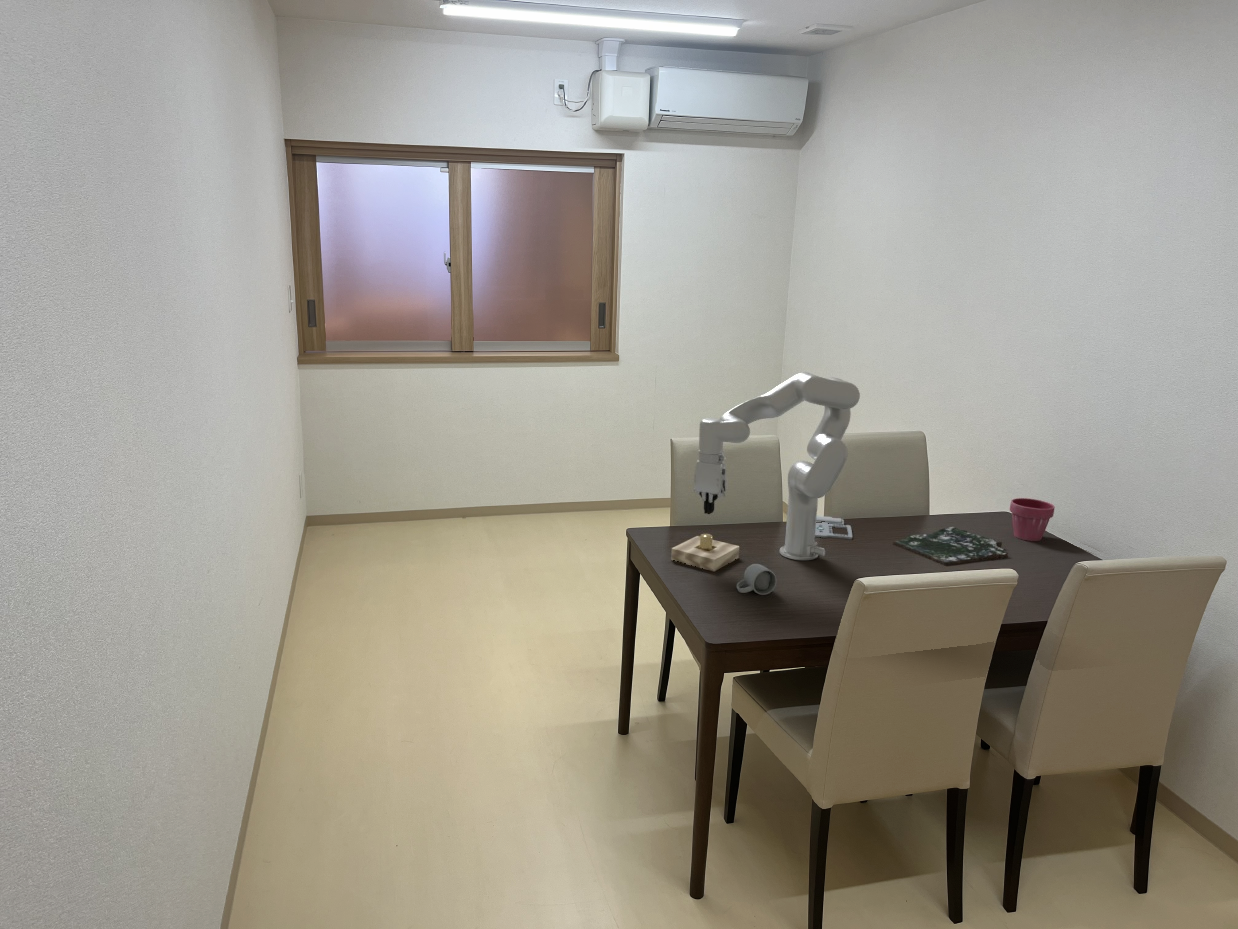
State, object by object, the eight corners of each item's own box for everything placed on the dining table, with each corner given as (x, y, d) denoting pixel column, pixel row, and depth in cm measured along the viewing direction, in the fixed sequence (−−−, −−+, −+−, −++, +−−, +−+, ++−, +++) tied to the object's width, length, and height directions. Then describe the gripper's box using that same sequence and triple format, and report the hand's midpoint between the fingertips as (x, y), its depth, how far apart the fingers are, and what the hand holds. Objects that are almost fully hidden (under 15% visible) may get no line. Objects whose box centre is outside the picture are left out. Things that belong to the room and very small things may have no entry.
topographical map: (892, 545, 298) (893, 537, 297) (957, 533, 314) (958, 525, 313) (952, 570, 276) (953, 561, 276) (1019, 555, 292) (1021, 547, 291)
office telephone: (795, 511, 326) (849, 515, 323) (795, 518, 327) (849, 522, 323) (795, 529, 304) (853, 534, 300) (794, 536, 305) (852, 541, 301)
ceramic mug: (763, 583, 260) (764, 559, 258) (776, 593, 253) (777, 569, 251) (731, 587, 257) (732, 563, 255) (743, 597, 250) (744, 573, 248)
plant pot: (1037, 531, 316) (1042, 497, 313) (1057, 544, 303) (1062, 509, 299) (999, 530, 316) (1003, 497, 313) (1017, 543, 302) (1022, 508, 299)
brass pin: (713, 558, 280) (714, 535, 278) (707, 562, 277) (708, 538, 275) (703, 555, 282) (704, 532, 280) (696, 559, 279) (697, 536, 277)
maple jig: (738, 557, 281) (739, 546, 280) (714, 571, 269) (714, 559, 268) (696, 547, 290) (697, 535, 289) (671, 560, 278) (671, 548, 277)
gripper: (737, 458, 270) (735, 514, 274) (696, 451, 278) (694, 506, 283) (725, 463, 264) (723, 520, 268) (684, 456, 272) (682, 511, 277)
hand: (708, 512), depth 276 cm, fingers closed
